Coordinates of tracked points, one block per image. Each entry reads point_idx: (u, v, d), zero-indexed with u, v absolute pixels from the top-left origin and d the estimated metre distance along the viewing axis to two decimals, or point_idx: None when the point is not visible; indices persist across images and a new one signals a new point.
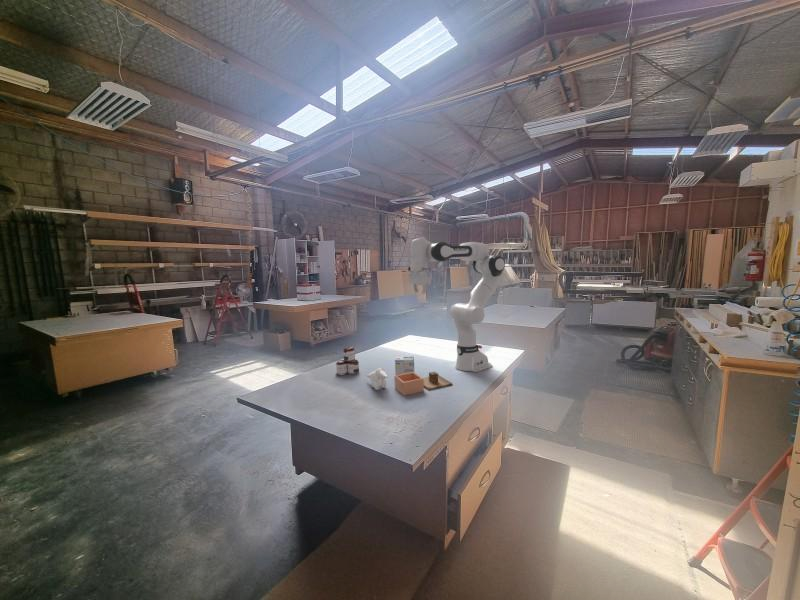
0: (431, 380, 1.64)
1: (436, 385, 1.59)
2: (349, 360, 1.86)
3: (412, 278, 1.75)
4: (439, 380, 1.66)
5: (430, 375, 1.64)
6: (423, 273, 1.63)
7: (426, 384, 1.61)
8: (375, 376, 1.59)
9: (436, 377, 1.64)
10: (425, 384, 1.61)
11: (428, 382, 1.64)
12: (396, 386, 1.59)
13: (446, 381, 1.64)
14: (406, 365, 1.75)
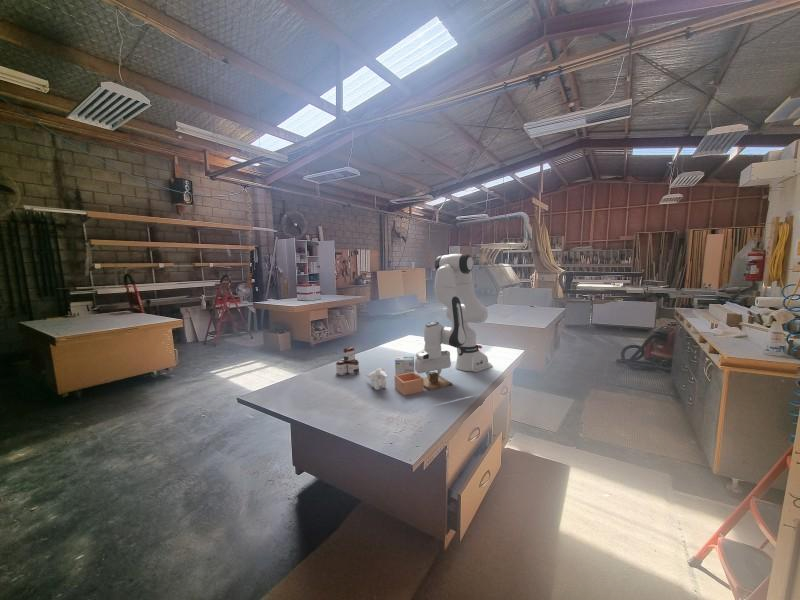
0: (431, 380, 1.64)
1: (436, 385, 1.59)
2: (349, 360, 1.86)
3: (425, 366, 1.60)
4: (439, 380, 1.66)
5: (430, 375, 1.64)
6: (447, 357, 1.65)
7: (426, 384, 1.61)
8: (375, 376, 1.59)
9: (436, 377, 1.64)
10: (425, 384, 1.61)
11: (428, 382, 1.64)
12: (396, 386, 1.59)
13: (446, 381, 1.64)
14: (406, 365, 1.75)
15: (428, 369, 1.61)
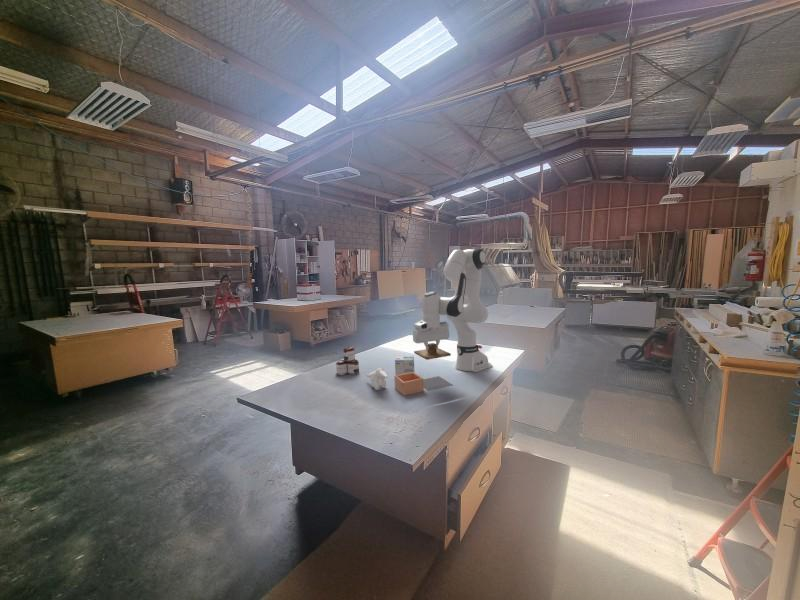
0: (429, 351, 1.62)
1: (434, 355, 1.57)
2: (349, 360, 1.86)
3: (424, 336, 1.58)
4: (437, 351, 1.64)
5: None
6: (445, 327, 1.63)
7: (424, 355, 1.59)
8: (375, 376, 1.59)
9: (435, 348, 1.62)
10: (423, 354, 1.59)
11: (426, 353, 1.62)
12: (396, 386, 1.59)
13: (445, 352, 1.62)
14: (406, 365, 1.75)
15: (426, 339, 1.59)
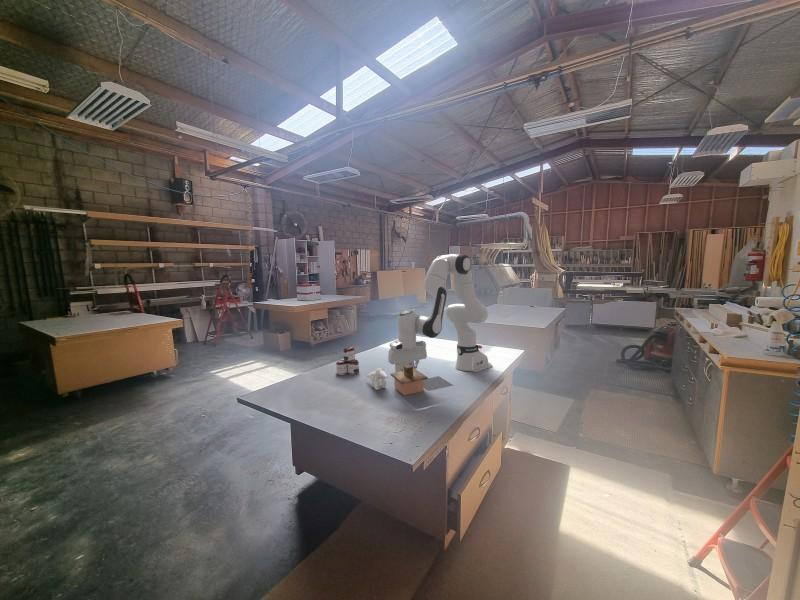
0: (406, 374, 1.56)
1: (410, 379, 1.52)
2: (349, 360, 1.86)
3: (399, 356, 1.53)
4: (414, 374, 1.58)
5: (405, 369, 1.57)
6: (422, 347, 1.57)
7: (400, 378, 1.53)
8: (375, 376, 1.59)
9: (411, 371, 1.56)
10: (399, 378, 1.54)
11: (402, 376, 1.56)
12: (396, 386, 1.59)
13: (422, 375, 1.57)
14: (406, 365, 1.75)
15: (402, 360, 1.53)
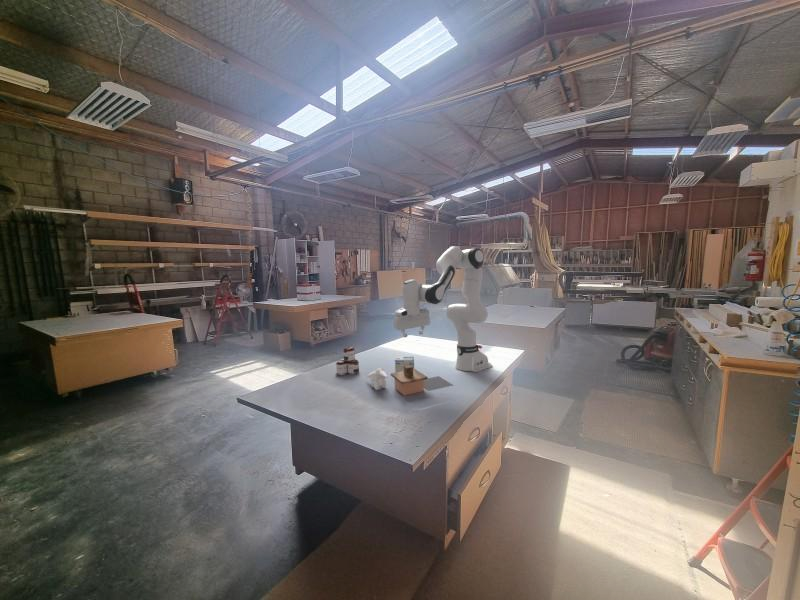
0: (406, 374, 1.56)
1: (410, 379, 1.52)
2: (349, 360, 1.86)
3: (404, 323, 1.62)
4: (414, 374, 1.58)
5: (405, 369, 1.57)
6: (426, 314, 1.67)
7: (400, 378, 1.53)
8: (375, 376, 1.59)
9: (411, 371, 1.56)
10: (399, 378, 1.54)
11: (402, 376, 1.56)
12: (396, 386, 1.59)
13: (422, 375, 1.57)
14: (406, 365, 1.75)
15: (407, 326, 1.63)
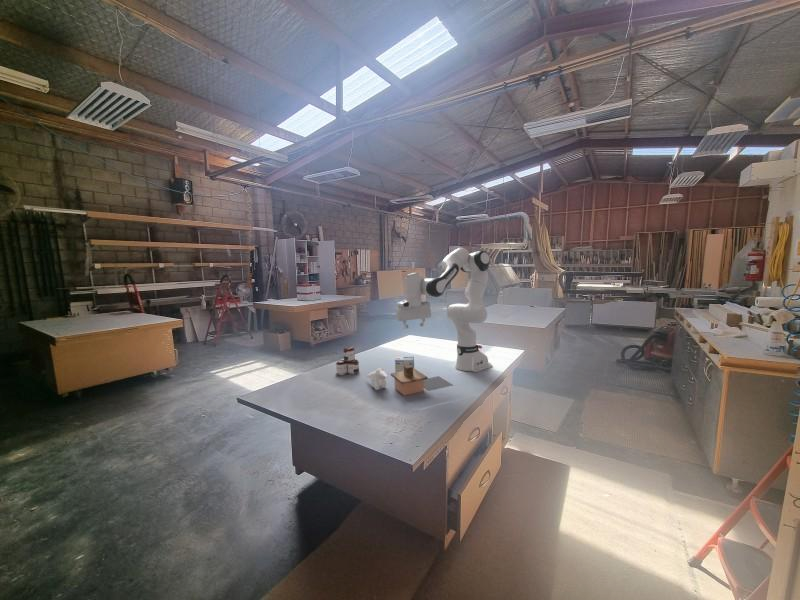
0: (406, 374, 1.56)
1: (410, 379, 1.52)
2: (349, 360, 1.86)
3: (406, 314, 1.68)
4: (414, 374, 1.58)
5: (405, 369, 1.57)
6: (427, 307, 1.72)
7: (400, 378, 1.53)
8: (375, 376, 1.59)
9: (411, 371, 1.56)
10: (399, 378, 1.54)
11: (402, 376, 1.56)
12: (396, 386, 1.59)
13: (422, 375, 1.57)
14: (406, 365, 1.75)
15: (408, 317, 1.68)
